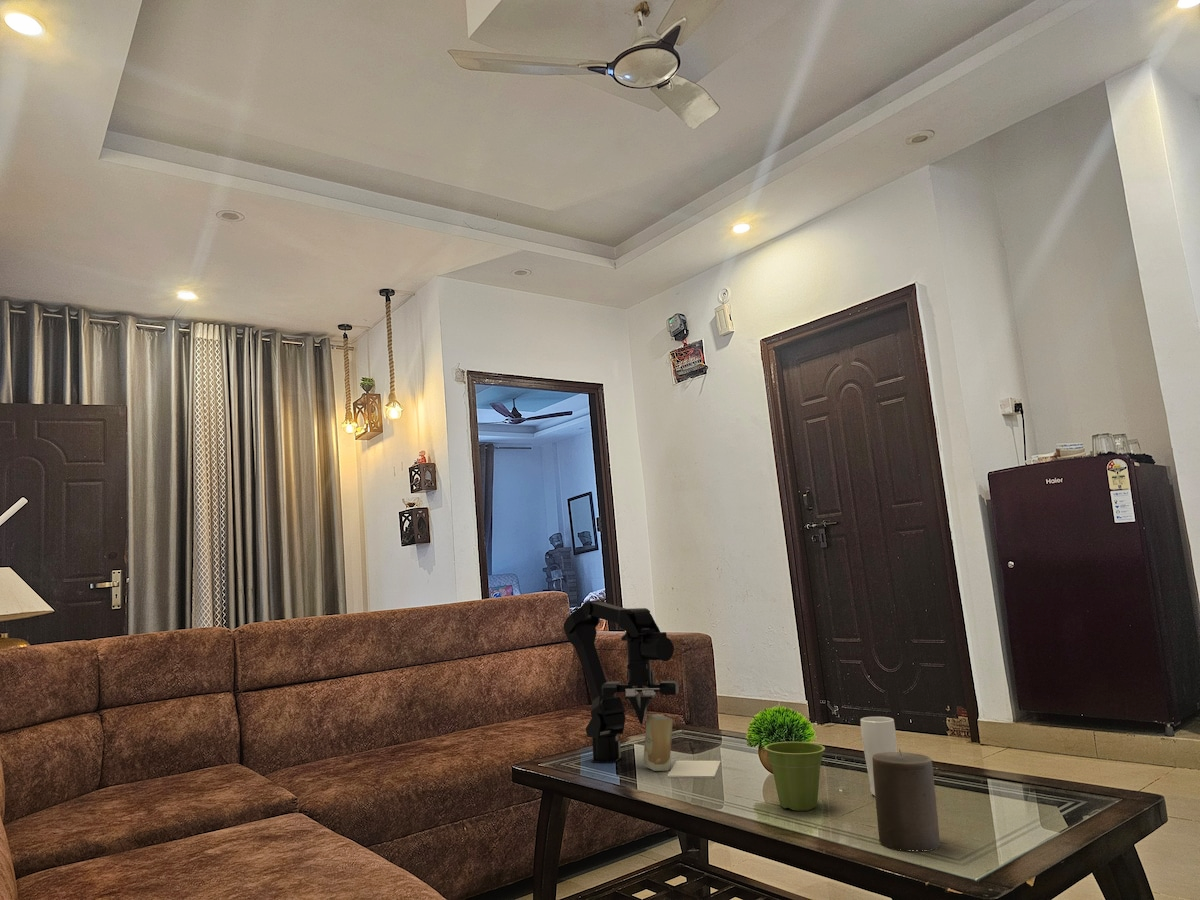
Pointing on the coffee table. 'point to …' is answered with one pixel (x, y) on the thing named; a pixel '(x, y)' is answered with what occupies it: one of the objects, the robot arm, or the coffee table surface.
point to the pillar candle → (905, 801)
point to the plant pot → (796, 773)
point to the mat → (695, 769)
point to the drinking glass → (877, 740)
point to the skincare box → (658, 742)
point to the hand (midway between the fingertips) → (641, 724)
